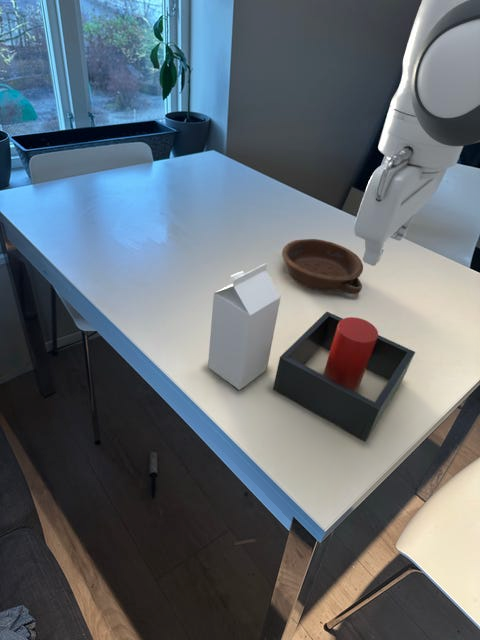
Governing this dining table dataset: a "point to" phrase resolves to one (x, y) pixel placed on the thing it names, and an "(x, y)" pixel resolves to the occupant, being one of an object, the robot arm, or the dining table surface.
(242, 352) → the milk carton
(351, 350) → the can
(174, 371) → the dining table surface
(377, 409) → the open box
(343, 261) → the dish
